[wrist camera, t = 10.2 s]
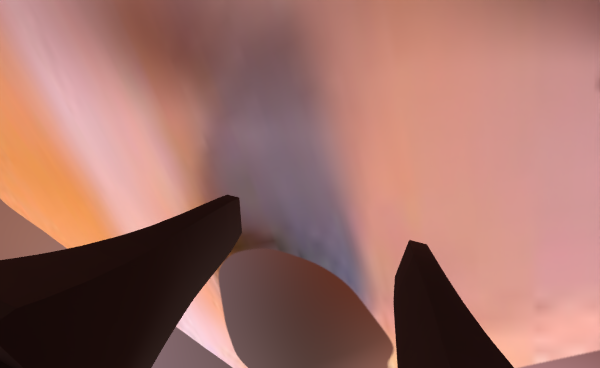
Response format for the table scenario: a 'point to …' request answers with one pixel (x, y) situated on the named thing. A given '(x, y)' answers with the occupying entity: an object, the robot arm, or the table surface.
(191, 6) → the table surface
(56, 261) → the robot arm
